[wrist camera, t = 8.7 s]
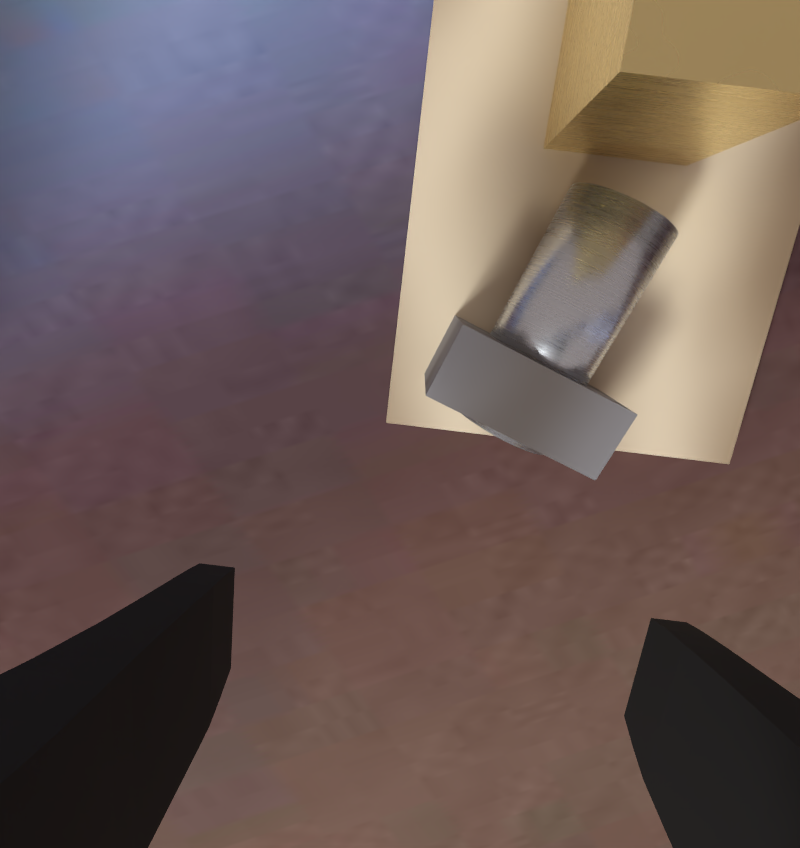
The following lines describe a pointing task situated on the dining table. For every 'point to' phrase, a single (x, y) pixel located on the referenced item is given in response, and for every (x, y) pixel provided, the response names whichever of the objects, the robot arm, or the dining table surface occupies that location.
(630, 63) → the yellow rectangular block
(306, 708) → the dining table surface
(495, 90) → the board
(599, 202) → the shaft angled
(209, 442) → the dining table surface
